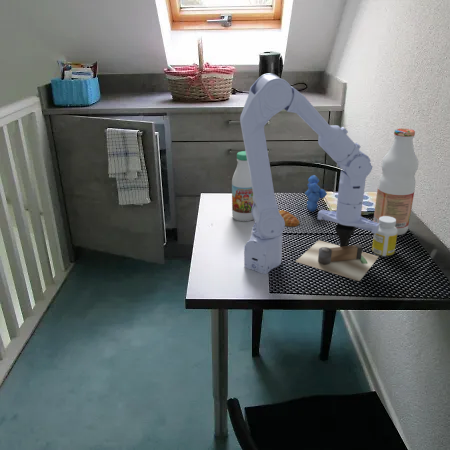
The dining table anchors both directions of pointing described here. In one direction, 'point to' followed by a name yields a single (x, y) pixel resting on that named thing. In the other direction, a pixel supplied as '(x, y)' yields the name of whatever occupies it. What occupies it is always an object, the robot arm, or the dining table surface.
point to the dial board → (338, 262)
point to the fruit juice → (397, 181)
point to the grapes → (314, 193)
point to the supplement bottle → (385, 237)
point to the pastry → (289, 219)
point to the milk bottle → (242, 190)
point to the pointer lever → (339, 253)
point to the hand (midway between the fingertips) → (343, 251)
